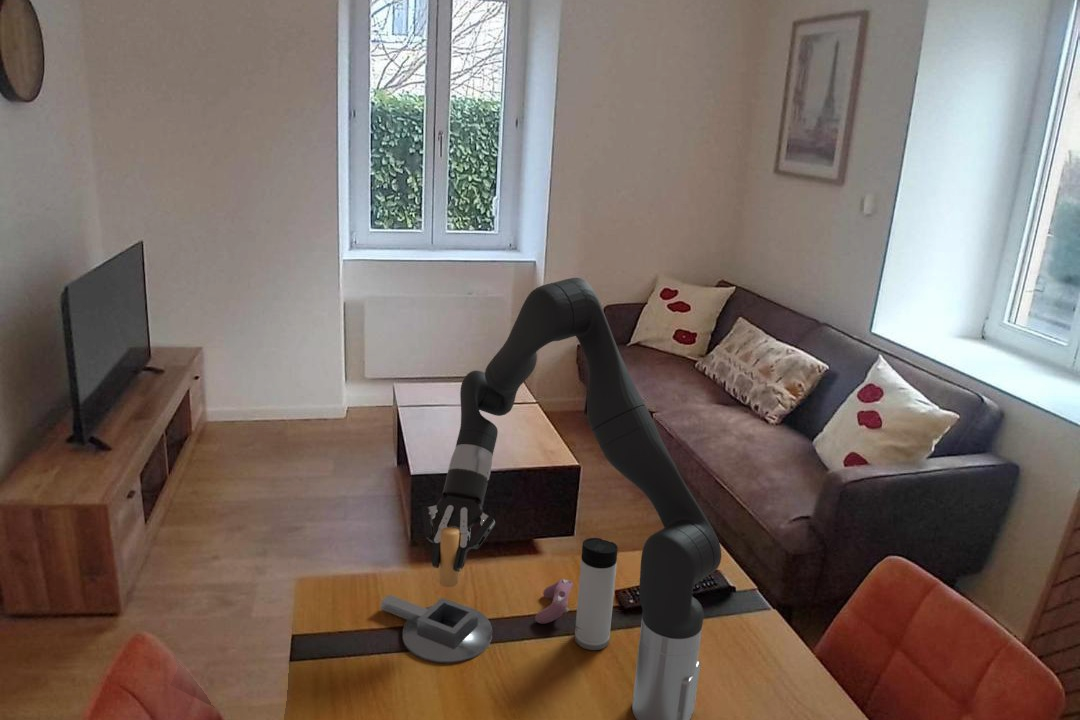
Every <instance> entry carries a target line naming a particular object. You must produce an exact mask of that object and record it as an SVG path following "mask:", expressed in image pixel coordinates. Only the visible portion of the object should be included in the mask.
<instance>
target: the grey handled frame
mask: <svg viewBox="0 0 1080 720" xmlns="http://www.w3.org/2000/svg"><path fill="white" fill-rule="evenodd" d="M380 610H382V611H384V612H387V613H389V614H392V615H395V616H398V617H399V618H402V619H404V620H406V621H405V623H404V624H403V628H402V641H403V644H404V646H405V648H406V650H408V651H409V652H410V653H411V654H412V655H414V656H415V657H417V658H419V659H422V660H424V661H427V662H431V663H436V664H455V663H462V662H465V661H469V660H472V659H474V658H475V657H477V656H480V654H482V653H483V652H484V651H486V649H488V647H489V646H490V644H491V642H492V639H493V627H492V622H490V620H489V619H488V617H487V616H486V615H484V613H482V612H481V611H479V610H478V609H475V608H473V607H470V606H467V605H464V604H462V603H461V604H460V603H457V602H456V601H453V600H450V599H447V598H444V597H441V598H440V599H439V600H438V601H436V602H435V603H434V604H432V605H431V606H427V607H422V606H421V605H417V604H415V603H412V602H410V601H407V600H404V599H401V598H399V597H396V596H394V595H391V594H388V595H387V596H386V597H384V598H383V599H382V600H381V601H380Z"/></svg>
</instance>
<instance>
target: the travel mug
mask: <svg viewBox="0 0 1080 720" xmlns="http://www.w3.org/2000/svg"><path fill="white" fill-rule="evenodd" d="M618 551H619V547H618V545H617V543H616V542H613V541H609V540H605V539H603V538H602V537H601V538H600V537H590V538H587V539H586V538H585V540H583V541H582V545H581V557H580V567H579V579H578V580H579V581H578V590H577V591H578V593H577V605H576V619H575V628H574V629H575V630H574V641H575V643H576V644H577V645H578V646H580V647H581V648H583V649H586V650H589V651H599V650H602V649H604V648H606V647H607V646H608V645H609V643H610V635H611V626H612V625H611V623H612V615H613V607H614V606H613V605H614V596H615V595H614V594H615V585H616V573H617V564H618V553H619V552H618Z"/></svg>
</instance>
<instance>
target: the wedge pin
mask: <svg viewBox="0 0 1080 720" xmlns="http://www.w3.org/2000/svg"><path fill="white" fill-rule="evenodd" d="M459 547H460V530H458V529H457V528H454V527H446V528H443V529H442V530H441V544H440V564H439V584H440V585H441V586H442V587H444V588H445V587H446V588H452V587H455V586H456V585H458V583H459V572H457V571H454V570H453V566H454V562H455V557H456V553H457V549H458V548H459Z"/></svg>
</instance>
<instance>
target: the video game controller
mask: <svg viewBox="0 0 1080 720" xmlns="http://www.w3.org/2000/svg"><path fill="white" fill-rule="evenodd" d="M573 586H574V583H573V582H572V581H570V580H567V579H565V578H562V579H561V578H560V579H559V580H558V581H557V582H555V583H552V584H551V585H548V586H547V587H545V588H544V589H543V593H542V595H543V596H544V597H545V598H547V599H552V602H551V604H549V605H548V606H547V607H546V608H544V609H542V610H540V611H539V612H538V613H537V614H536V615H535V622H537V623H538V624H549V623H551V622H553V621H555V620H557V619H558V618H561V617H562V616H563V614H564V615H565V614H568V612H569V607H568V605H569V600H568V599H569V597H570V593H571V591H572V588H573Z"/></svg>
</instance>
